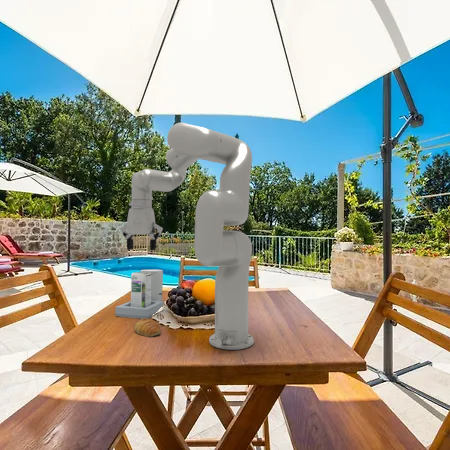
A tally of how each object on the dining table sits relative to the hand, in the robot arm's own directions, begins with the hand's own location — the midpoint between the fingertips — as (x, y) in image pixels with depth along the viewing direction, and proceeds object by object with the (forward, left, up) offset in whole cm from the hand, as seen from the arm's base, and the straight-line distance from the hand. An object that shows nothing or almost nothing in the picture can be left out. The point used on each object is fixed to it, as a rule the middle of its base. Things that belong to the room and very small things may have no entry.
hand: (141, 249), depth 122 cm
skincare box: (+14, +3, -24) cm, 28 cm away
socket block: (0, 0, -24) cm, 24 cm away
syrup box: (0, 0, -23) cm, 23 cm away
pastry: (-19, -14, -25) cm, 34 cm away
